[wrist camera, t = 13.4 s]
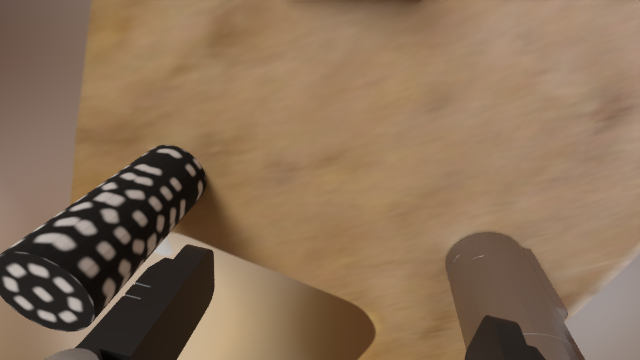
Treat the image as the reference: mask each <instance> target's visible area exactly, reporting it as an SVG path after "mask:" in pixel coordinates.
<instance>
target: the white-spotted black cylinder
mask: <svg viewBox="0 0 640 360" xmlns="http://www.w3.org/2000/svg"><path fill="white" fill-rule="evenodd" d="M205 187H206V178H205V173H204V171H203V169H202V167H201V165H200V164H199V162H198V161H197V160H196V159H195V158H194V157H193V156H192V155H191V154H190V153H188V152H187V151H185V150H183V149H181V148H179V147H176V146H171V145H161V146H157V147H155V148H152V149H151V150H150V151H148V152H147V153H145V154H144V155H142V156H141V157H140V158H138V159H137V160H135V161H134V162H132V163H131V164H129V165H128V166H127V167H125V168H124V169H122V170H121V171H119V172H118V173H116V174H115V175H114V176H112V177H111V178H109V179H108V180H106V181H105V182H104V183H102V184H101V185H99V186H98V187H96V188H95V189H93V190H92V191H91V192H89V193H88V194H86V195H85V196H83V197H82V198H81V199H79V200H78V201H76V202H75V203H73V204H72V205H70V206H69V207H68V208H66V209H65V210H63V211H62V212H60V213H59V214H58V215H56V216H55V217H53V218H52V219H50V220H49V221H47V222H46V223H45V224H43V225H42V226H40V227H39V228H37V229H36V230H34V231H33V232H32V233H30V234H29V235H27V236H26V237H24V238H23V239H22V240H20V241H19V242H17V243H16V244H14V245H13V246H11V247H10V248H9V249H7V250H6V251H4V252H3V253H1V254H0V295H1V297H2V298H3V299H4V300H5V301H6V302H7V303H8V304H9V305H10V306H11V307H12V308H13V309H15V310H16V311H17V312H18V313H20V314H21V315H23V316H24V317H26V318H28V319H29V320H31V321H33V322H35V323H37V324H39V325H42V326H44V327H47V328H50V329H54V330H58V331H66V332H69V331H79V330H83V329H84V328H86V327H88V326H89V325H90V324H91V323H92V322H93V321H94V320H95V318H96V317H97V316H98V315H99V314H100V313H101V311H102V310H103V309H104V308H105V307H106V306H107V304H108V303H109V302H110V301H111V300H112V299H113V298H114V296H115V295H116V294H117V293H118V292H119V291H120V289H121V288H122V287H123V286H124V285H125V284H126V283H127V281H128V280H129V279H130V278H131V277H132V276H133V274H134V273H135V272H136V271H137V270H138V269H139V267H140V266H141V265H142V264H143V263H144V262H145V261H146V259H147V258H148V257H149V256H150V255H151V254H152V252H153V251H154V250H155V249H156V248H157V247H158V246H159V244H160V243H161V242H162V241H163V240H164V239H165V237H166V236H167V235H168V234H169V233H170V232H171V230H172V229H173V228H174V227H175V226H176V225H177V224H178V222H179V221H180V220H181V219H182V218H183V217H184V215H185V214H186V213H187V212H188V211H189V210H190V208H191V207H192V206H193V205H194V204H195V203H196V202H197V200H198V199H199V198H200V197H201V196H202V194H203V193H204V191H205Z"/></svg>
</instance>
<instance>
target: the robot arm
mask: <svg viewBox="0 0 640 360" xmlns="http://www.w3.org/2000/svg"><path fill="white" fill-rule="evenodd" d="M446 270H447V275H448V280H449V282H450V286H451V291H452V295H453V299H454V303H455V307H456V311H457V315H458V319H459V323H460V326H461V330H462V334H463V338H464V342H465V346H466V350H467V351H466V355H465V360H585V359H584V357H583V355H582V353H581V352H580V350H579V348H578V347H577V345H576V343H575V341H574V339H573V338H572V336H571V334H570V332H569V331H568V329H567V327H566V325H565V323H564V320H565V319H566V317H567V315H568V312H567V309H566V308H565V306H564V304H563V303H562V301H561V299H560V298H559V296H558V294H557V293H556V291H555V289H554V288H553V286H552V284H551V283H550V281H549V279H548V278H547V276H546V274H545V273H544V271H543V269H542V268H541V266H540V264H539V263H538V261H537V259H536V258H535V256H534V254H533V253H532V251H531V250H530V249H525V248H522V247H521V246H520V245H519V244H518V243H517V242H516V241H515V240H513V239H512V238H510V237H508V236H505V235H503V234H498V233H478V234H474V235H471V236H468V237H466V238H464V239H462V240H460V241H459V242H457V243H456V244H455V245H454V246H453V247H452V248H451V249H450V251H449V253H448V255H447V257H446ZM213 292H214V254H213V251H212V250H210V249H206V248H202V247H197V246H193V245H186V246H184V247H183V248H182V250H181V251H180V252H179V253H178V254H177V256H176V257H175V258H174V259H169V258H164V259H162V260H160V261H159V262H157V263H155V264H154V265H152V266H150V267H149V268H147V270H146V271H145V272H144V273H143V274H142V275H141V276H140V277H139V278H138V280H137V281H136V283H135V285H132V286H131V287H130V289H129V290H128V291H127V292H126V293H125V296H123V297H121V298H120V300H119V301H118V302H117V303H116V304H115V305H114V306H113V307H112V308H111V310H110V311H109V312H108V313H107V314H106V315H105V316H104V317H103V319H102V320H101V321H100V322H99V323H98V324H97V325H96V326H95V327H94V329H93V330H92V331H91V332H90V333H89V334H88V335H87V336H86V337H85V338H84V340H83V341H82V342H81V343H80V344H79V345H78V346H76V347H75V348H74V349H68V350H64V351H61V352H58V353H56V354H54V355H52V356H50V357H48V358H46V359H45V360H177V358H178V357H179V355H180V353H181V352H182V350H183V348H184V347H185V345H186V343H187V342H188V340H189V338H190V337H191V335H192V333H193V331H194V330H195V328H196V326H197V325H198V323H199V321H200V320H201V318H202V316H203V315H204V313H205V311H206V309H207V308H208V306H209V304H210V302H211V299H212V296H213Z"/></svg>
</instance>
